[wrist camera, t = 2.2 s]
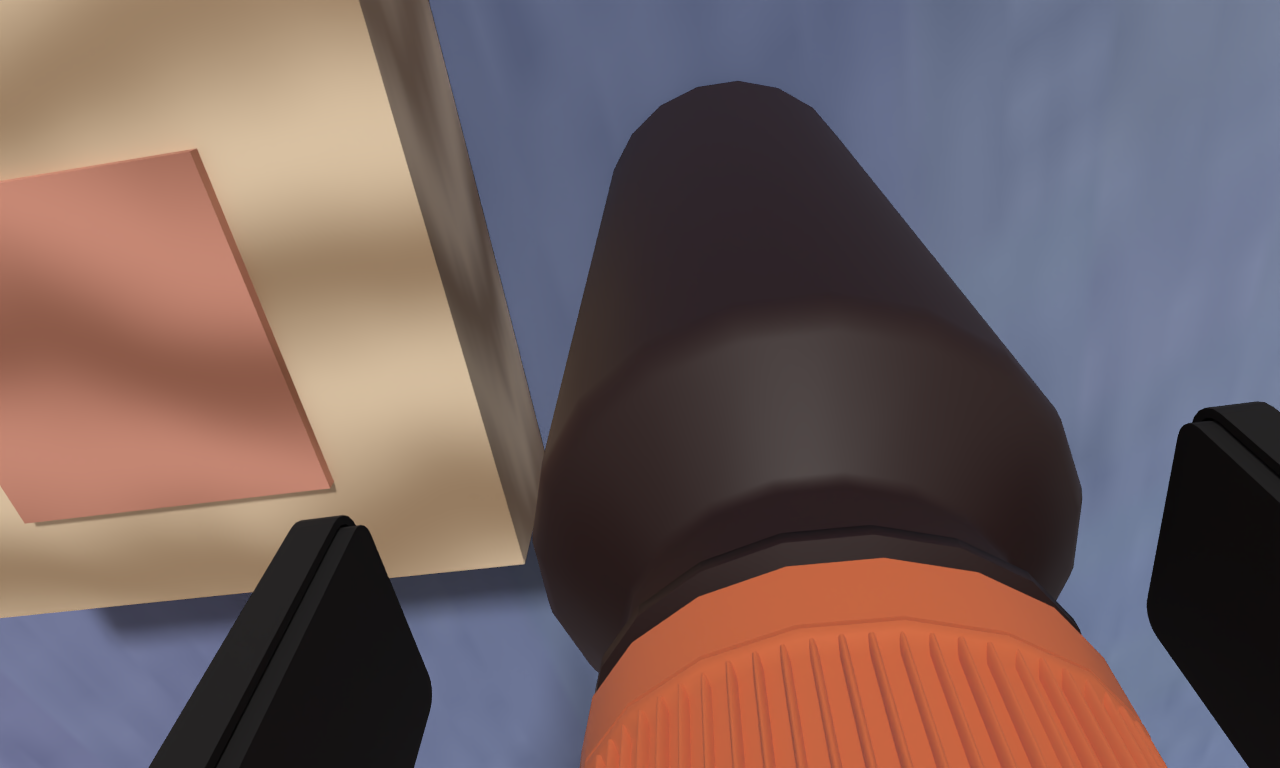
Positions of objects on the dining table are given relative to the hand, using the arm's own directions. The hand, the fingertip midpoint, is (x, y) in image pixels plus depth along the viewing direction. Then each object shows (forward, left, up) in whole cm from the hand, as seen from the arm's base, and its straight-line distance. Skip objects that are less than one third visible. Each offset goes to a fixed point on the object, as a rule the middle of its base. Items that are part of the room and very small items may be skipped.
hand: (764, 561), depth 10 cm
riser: (0, +16, -15) cm, 22 cm away
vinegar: (0, 0, -16) cm, 16 cm away
